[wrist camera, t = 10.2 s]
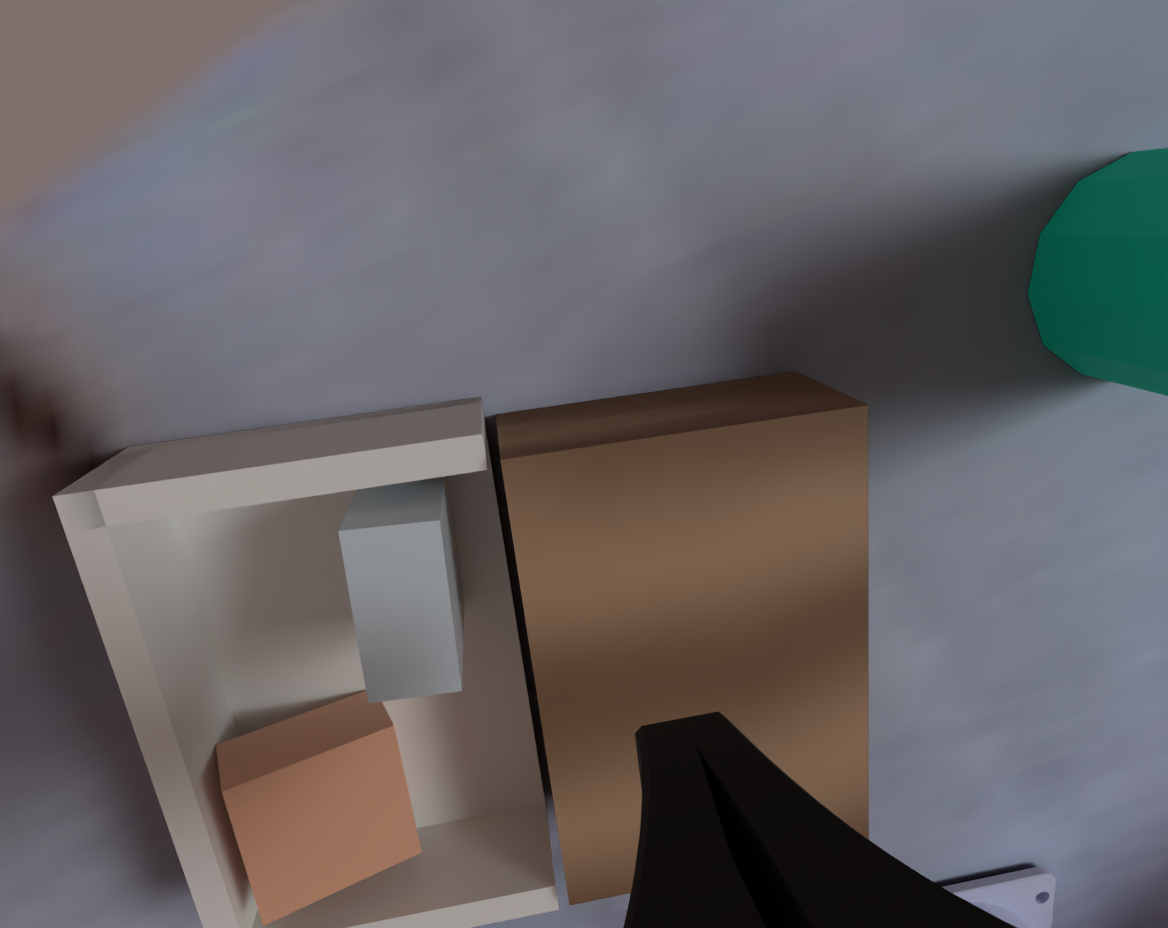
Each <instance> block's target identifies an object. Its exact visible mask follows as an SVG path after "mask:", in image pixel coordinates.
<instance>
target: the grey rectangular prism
mask: <svg viewBox="0 0 1168 928" xmlns="http://www.w3.org/2000/svg"><path fill="white" fill-rule="evenodd" d="M338 532H339V538H340V544H341V550H342V555H343V561H344V567H345V573H346V579H347V584H348V590H349V596H350V602H351V607H352V613H353V619H354V625H355V630H356V636H357V642H358V648H359V653H360V659H361V665H362V671H363V676H364V682H365V688H366V694H367V699H368V703H374V702H382V701H390V700H397V699H405V698H413V697H420V696H428V695H436V694H443V693H451V692H458V691H462V672H463V638H464V597H463V589H462V581H461V573H460V565H459V557H458V549H457V541H456V533H455V525H454V517H453V509H452V501H451V493H450V484H449V476H444V477H437V478H430V479H424V480H417V481H410V482H404V483H397V484H390V485H384V486H377V487H370V488H364V489H357V490H356V492H355V494H354V497H353V499H352V501H351V503H350V506H349V508H348V510H347V512H346V515H345V517H344V519H343V521H342V524H341V526H340V528H339V530H338Z"/></svg>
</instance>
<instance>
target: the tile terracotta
mask: <svg viewBox="0 0 1168 928" xmlns="http://www.w3.org/2000/svg"><path fill="white" fill-rule="evenodd" d="M216 751H217V759H218V767H219V775H220V784H221V792H222V795H223V798H224V802H225V805H226V808H227V811H228V814H229V818H230V821H231V824H232V827H233V830H234V834H235V837H236V840H237V843H238V846H239V850H240V853H241V856H242V859H243V863H244V866H245V869H246V872H247V875H248V879H249V882H250V885H251V888H252V891H253V895H254V898H255V901H256V904H257V907H258V911H259V914H260V917H261V920H262V924H263V926H264V925H267V924H269V923H271V922H273V921H275V920H277V919H279V918H282V917H284V916H286V915H288V914H290V913H292V912H295V911H297V910H299V909H301V908H303V907H305V906H307V905H310V904H312V903H314V902H316V901H318V900H320V899H323V898H325V897H327V896H329V895H331V894H333V893H335V892H338V891H340V890H342V889H344V888H346V887H348V886H351V885H353V884H355V883H357V882H359V881H361V880H363V879H366V878H368V877H370V876H372V875H374V874H376V873H379V872H381V871H383V870H385V869H387V868H389V867H391V866H394V865H396V864H398V863H400V862H402V861H404V860H407V859H409V858H411V857H413V856H415V855H417V854H419V853H422V851H421V846H420V842H419V837H418V833H417V828H416V824H415V819H414V815H413V810H412V805H411V801H410V796H409V792H408V787H407V783H406V778H405V774H404V769H403V765H402V760H401V755H400V751H399V746H398V742H397V737H396V733H395V728H394V725H393V723H392V721H391V719H390V717H389V715H388V713H387V711H386V709H385V707H384V705H383V703H382V702H374V703H368V699H367V694H366V691H363V692H361V693H358V694H355V695H352V696H350V697H347V698H344V699H341V700H339V701H336V702H333V703H330V704H328V705H325V706H322V707H319V708H317V709H314V710H311V711H308V712H306V713H303V714H300V715H297V716H294V717H292V718H289V719H286V720H283V721H281V722H278V723H275V724H272V725H270V726H267V727H264V728H261V729H259V730H256V731H253V732H250V733H248V734H245V735H242V736H239V737H237V738H234V739H231V740H228V741H226V742H223V743H220V744H217V745H216Z"/></svg>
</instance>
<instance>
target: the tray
mask: <svg viewBox="0 0 1168 928" xmlns="http://www.w3.org/2000/svg"><path fill="white" fill-rule="evenodd" d="M444 476H449V484H450V493H451V501H452V509H453V517H454V525H455V533H456V541H457V549H458V557H459V565H460V573H461V581H462V589H463V597H464V638H463V672H462V691H458V692H451V693H443V694H436V695H428V696H420V697H413V698H405V699H397V700H390V701H382V703H383V705H384V707H385V709H386V711H387V713H388V715H389V717H390V719H391V721H392V723H393V725H394V728H395V733H396V737H397V742H398V746H399V751H400V755H401V760H402V765H403V769H404V774H405V778H406V783H407V787H408V792H409V796H410V801H411V805H412V810H413V815H414V819H415V824H416V828H417V833H418V837H419V842H420V846H421V851H422V853H419V854H417V855H415V856H413V857H411V858H409V859H407V860H404V861H402V862H400V863H398V864H396V865H394V866H391V867H389V868H387V869H385V870H383V871H381V872H379V873H376V874H374V875H372V876H370V877H368V878H366V879H363V880H361V881H359V882H357V883H355V884H353V885H351V886H348V887H346V888H344V889H342V890H340V891H338V892H335V893H333V894H331V895H329V896H327V897H325V898H323V899H320V900H318V901H316V902H314V903H312V904H310V905H307V906H305V907H303V908H301V909H299V910H297V911H295V912H292V913H290V914H288V915H286V916H284V917H282V918H279V919H277V920H275V921H273V922H271V923H269V924H267V925H264V926H263V924H262V920H261V917H260V914H259V911H258V907H257V904H256V901H255V898H254V895H253V891H252V888H251V885H250V882H249V879H248V875H247V872H246V869H245V866H244V863H243V859H242V856H241V853H240V850H239V846H238V843H237V840H236V837H235V834H234V830H233V827H232V824H231V821H230V818H229V814H228V811H227V808H226V805H225V802H224V798H223V795H222V792H221V784H220V775H219V767H218V759H217V751H216V745H217V744H220V743H223V742H226V741H228V740H231V739H234V738H237V737H239V736H242V735H245V734H248V733H250V732H253V731H256V730H259V729H261V728H264V727H267V726H270V725H272V724H275V723H278V722H281V721H283V720H286V719H289V718H292V717H294V716H297V715H300V714H303V713H306V712H308V711H311V710H314V709H317V708H319V707H322V706H325V705H328V704H330V703H333V702H336V701H339V700H341V699H344V698H347V697H350V696H352V695H355V694H358V693H361V692H363V691H366V688H365V682H364V676H363V671H362V665H361V659H360V653H359V648H358V642H357V636H356V630H355V625H354V619H353V613H352V607H351V602H350V596H349V590H348V584H347V579H346V573H345V567H344V561H343V555H342V550H341V544H340V538H339V532H338V530H339V528H340V526H341V524H342V521H343V519H344V517H345V515H346V512H347V510H348V508H349V506H350V503H351V501H352V499H353V497H354V494H355V492H356V490H357V489H364V488H370V487H377V486H384V485H390V484H397V483H404V482H410V481H417V480H424V479H430V478H437V477H444ZM52 497H53V500H54V503H55V505H56V508H57V511H58V514H59V517H60V520H61V523H62V525H63V528H64V531H65V534H66V537H67V540H68V543H69V545H70V548H71V551H72V554H73V557H74V560H75V563H76V566H77V568H78V571H79V574H80V577H81V580H82V583H83V586H84V588H85V591H86V594H87V597H88V600H89V603H90V606H91V608H92V611H93V614H94V617H95V620H96V623H97V626H98V628H99V631H100V634H101V637H102V640H103V643H104V646H105V648H106V651H107V654H108V657H109V660H110V663H111V666H112V669H113V671H114V674H115V677H116V680H117V683H118V686H119V689H120V691H121V694H122V697H123V700H124V703H125V706H126V709H127V711H128V714H129V717H130V720H131V723H132V726H133V729H134V731H135V734H136V737H137V740H138V743H139V746H140V749H141V751H142V754H143V757H144V760H145V763H146V766H147V769H148V771H149V774H150V777H151V780H152V783H153V786H154V789H155V792H156V794H157V797H158V800H159V803H160V806H161V809H162V812H163V814H164V817H165V820H166V823H167V826H168V829H169V832H170V834H171V837H172V840H173V843H174V846H175V849H176V852H177V854H178V857H179V860H180V863H181V866H182V869H183V872H184V874H185V877H186V880H187V883H188V886H189V889H190V892H191V895H192V897H193V900H194V903H195V906H196V909H197V912H198V915H199V917H200V920H201V923H202V926H203V928H471V927H476V926H481V925H486V924H491V923H495V922H500V921H505V920H510V919H515V918H520V917H525V916H530V915H535V914H540V913H545V912H550V911H555V910H559V906H558V898H557V890H556V881H555V873H554V865H553V857H552V848H551V840H550V832H549V824H548V815H547V808H546V802H545V795H544V789H543V783H542V777H541V770H540V764H539V758H538V752H537V745H536V739H535V733H534V726H533V720H532V714H531V708H530V701H529V695H528V689H527V683H526V676H525V670H524V664H523V658H522V651H521V645H520V639H519V632H518V626H517V620H516V614H515V607H514V601H513V595H512V589H511V582H510V576H509V570H508V563H507V557H506V551H505V545H504V538H503V532H502V526H501V520H500V513H499V507H498V501H497V494H496V488H495V482H494V476H493V469H492V463H491V457H490V451H489V444H488V438H487V432H486V426H485V419H484V413H483V407H482V400H481V397H479V398H472V399H465V400H458V401H451V402H444V403H437V404H430V405H422V406H415V407H408V408H401V409H394V410H387V411H380V412H373V413H366V414H359V415H352V416H345V417H337V418H330V419H323V420H316V421H309V422H302V423H295V424H288V425H281V426H274V427H267V428H260V429H252V430H245V431H238V432H231V433H224V434H217V435H210V436H203V437H196V438H189V439H182V440H174V441H167V442H160V443H153V444H146V445H139V446H132V447H128V448H126V449H125V450H123V451H122V452H120V453H119V454H117V455H115V456H114V457H112V458H111V459H109V460H108V461H106V462H105V463H103V464H102V465H100V466H99V467H97V468H95V469H94V470H92V471H91V472H89V473H88V474H86V475H85V476H83V477H82V478H80V479H78V480H77V481H75V482H74V483H72V484H71V485H69V486H68V487H66V488H65V489H63V490H62V491H60V492H58V493H57V494H55V495H54V496H52Z"/></svg>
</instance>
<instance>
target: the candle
mask: <svg viewBox="0 0 1168 928" xmlns="http://www.w3.org/2000/svg"><path fill="white" fill-rule="evenodd" d="M1028 297H1029V300H1030V303H1031V307H1032V310H1033V313H1034V316H1035V320H1036V323H1037V326H1038V329H1039V333H1040V336H1041V339H1042V342H1043V345H1044V346H1045V347H1046V348H1048V349H1049V350H1050V351H1052V352H1053V353H1054V354H1056V355H1057V356H1058V357H1059V358H1061V359H1062V360H1063V361H1065V362H1066V363H1067V364H1069V365H1070V366H1071V367H1073V368H1074V369H1075V370H1077V371H1078V372H1079V373H1081V374H1083V375H1087V376H1091V377H1095V378H1099V379H1103V380H1107V381H1111V382H1115V383H1119V384H1123V385H1127V386H1131V387H1135V388H1139V389H1143V390H1147V391H1151V392H1155V393H1159V394H1163V395H1167V396H1168V148H1164V149H1155V150H1146V151H1136V152H1131V153H1129V154H1127V155H1126V156H1124V157H1122V158H1120V159H1118V160H1116V161H1115V162H1113V163H1111V164H1109V165H1107V166H1105V167H1104V168H1102V169H1100V170H1098V171H1096V172H1094V173H1093V174H1091V175H1089V176H1087V177H1085V178H1083V179H1082V180H1080V181H1078V182H1077V184H1076V185H1075V186H1074V188H1073V189H1072V191H1071V192H1070V193H1069V195H1068V196H1067V197H1066V199H1065V200H1064V202H1063V203H1062V204H1061V206H1060V207H1059V209H1058V210H1057V211H1056V213H1055V214H1054V215H1053V217H1052V218H1051V220H1050V221H1049V222H1048V224H1047V225H1046V227H1045V228H1044V229H1043V231H1042V232H1041V233H1040V236H1039V241H1038V246H1037V251H1036V256H1035V261H1034V266H1033V271H1032V276H1031V281H1030V286H1029V291H1028Z"/></svg>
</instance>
